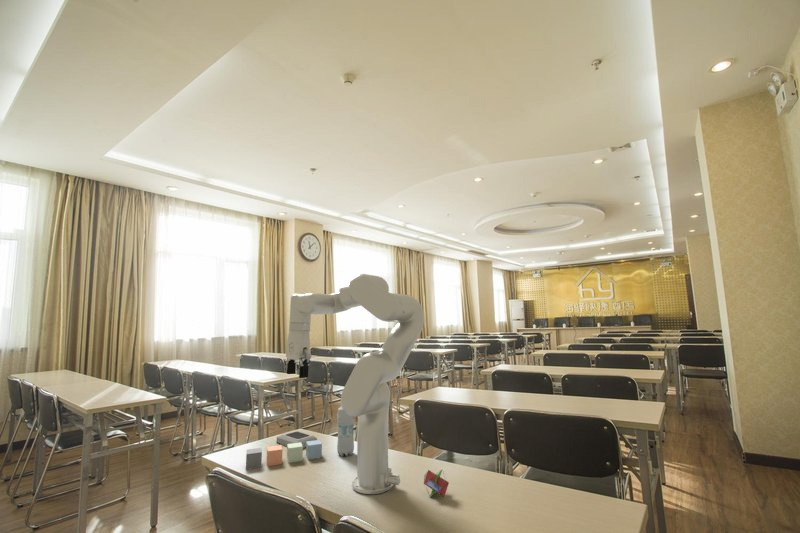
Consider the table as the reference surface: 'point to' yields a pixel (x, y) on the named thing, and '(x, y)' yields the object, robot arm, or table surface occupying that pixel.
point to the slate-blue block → (313, 449)
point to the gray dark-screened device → (295, 438)
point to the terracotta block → (274, 455)
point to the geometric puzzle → (435, 482)
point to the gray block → (253, 458)
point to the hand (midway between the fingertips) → (297, 375)
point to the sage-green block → (294, 452)
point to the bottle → (345, 433)
